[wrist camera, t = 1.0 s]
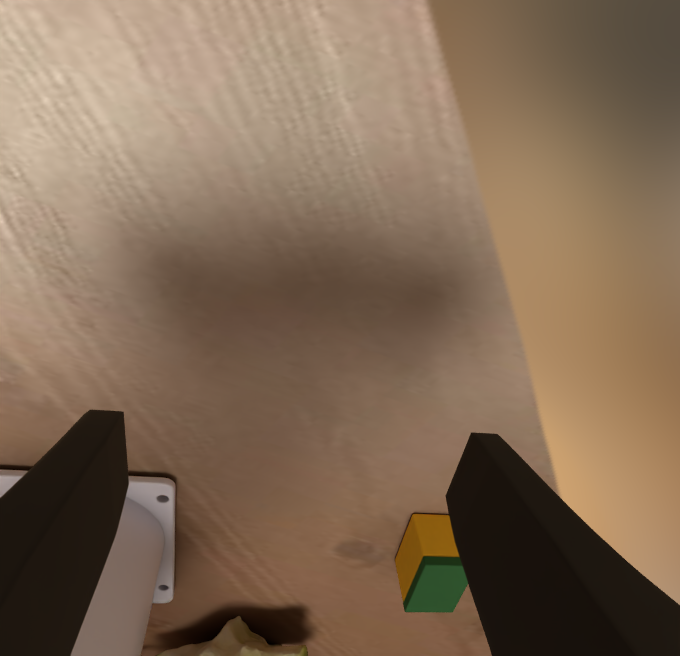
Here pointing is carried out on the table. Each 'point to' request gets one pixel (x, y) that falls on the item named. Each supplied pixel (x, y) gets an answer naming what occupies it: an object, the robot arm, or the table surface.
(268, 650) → the fruit
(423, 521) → the sponge
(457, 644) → the table surface
